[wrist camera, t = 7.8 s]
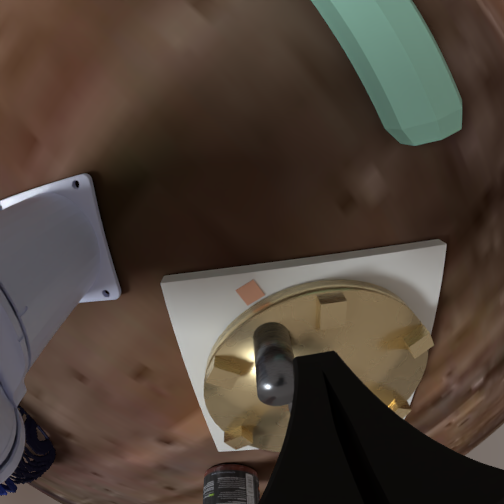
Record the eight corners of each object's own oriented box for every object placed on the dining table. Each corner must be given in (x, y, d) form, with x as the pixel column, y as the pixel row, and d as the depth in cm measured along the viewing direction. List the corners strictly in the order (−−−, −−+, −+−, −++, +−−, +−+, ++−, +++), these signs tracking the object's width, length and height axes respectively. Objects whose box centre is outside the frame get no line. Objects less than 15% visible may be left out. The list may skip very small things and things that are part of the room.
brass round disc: (370, 434, 24) (387, 481, 19) (199, 433, 22) (194, 490, 17) (451, 291, 18) (498, 336, 13) (218, 262, 17) (209, 324, 11)
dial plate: (218, 443, 25) (218, 452, 24) (163, 275, 18) (159, 284, 17) (401, 411, 25) (405, 419, 24) (438, 239, 18) (447, 244, 17)
